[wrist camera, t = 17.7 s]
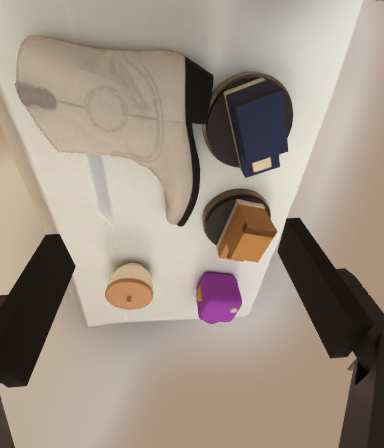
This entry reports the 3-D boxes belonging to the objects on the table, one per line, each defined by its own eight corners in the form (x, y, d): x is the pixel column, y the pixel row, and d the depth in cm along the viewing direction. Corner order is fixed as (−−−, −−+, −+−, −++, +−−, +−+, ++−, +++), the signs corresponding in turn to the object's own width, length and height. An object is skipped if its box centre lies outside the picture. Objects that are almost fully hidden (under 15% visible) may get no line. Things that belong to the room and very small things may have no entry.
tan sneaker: (217, 190, 45) (226, 219, 38) (280, 203, 48) (299, 232, 41) (198, 242, 53) (202, 273, 46) (253, 250, 56) (265, 281, 49)
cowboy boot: (227, 61, 28) (-11, 10, 24) (189, 244, 43) (37, 231, 39) (214, 62, 36) (33, 23, 32) (186, 216, 50) (60, 203, 47)
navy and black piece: (195, 97, 35) (201, 112, 28) (287, 61, 33) (319, 68, 26) (218, 175, 43) (227, 203, 36) (293, 151, 41) (318, 174, 34)
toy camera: (193, 301, 71) (196, 333, 63) (196, 270, 63) (200, 304, 55) (229, 299, 72) (236, 332, 64) (236, 269, 64) (245, 302, 56)
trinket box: (130, 288, 65) (125, 320, 58) (102, 267, 59) (92, 300, 52) (162, 273, 62) (161, 305, 55) (136, 249, 56) (131, 281, 49)
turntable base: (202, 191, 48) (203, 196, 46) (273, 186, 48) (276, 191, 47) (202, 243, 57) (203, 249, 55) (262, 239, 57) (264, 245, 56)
